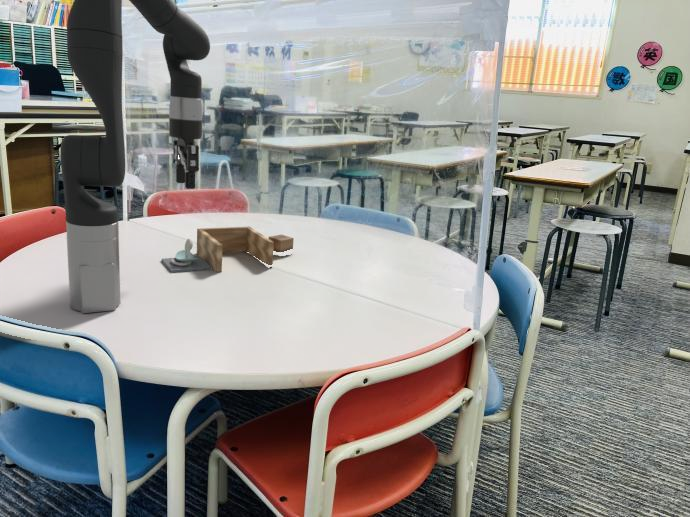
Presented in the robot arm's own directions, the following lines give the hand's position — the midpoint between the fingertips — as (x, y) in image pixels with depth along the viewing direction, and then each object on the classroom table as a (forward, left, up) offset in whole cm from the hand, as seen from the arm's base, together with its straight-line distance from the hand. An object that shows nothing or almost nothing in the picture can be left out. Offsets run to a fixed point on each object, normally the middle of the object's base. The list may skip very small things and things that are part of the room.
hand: (185, 185), depth 134 cm
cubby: (+1, -14, -20) cm, 24 cm away
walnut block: (+4, -29, -21) cm, 35 cm away
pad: (0, -1, -20) cm, 20 cm away
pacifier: (0, 0, -20) cm, 20 cm away
